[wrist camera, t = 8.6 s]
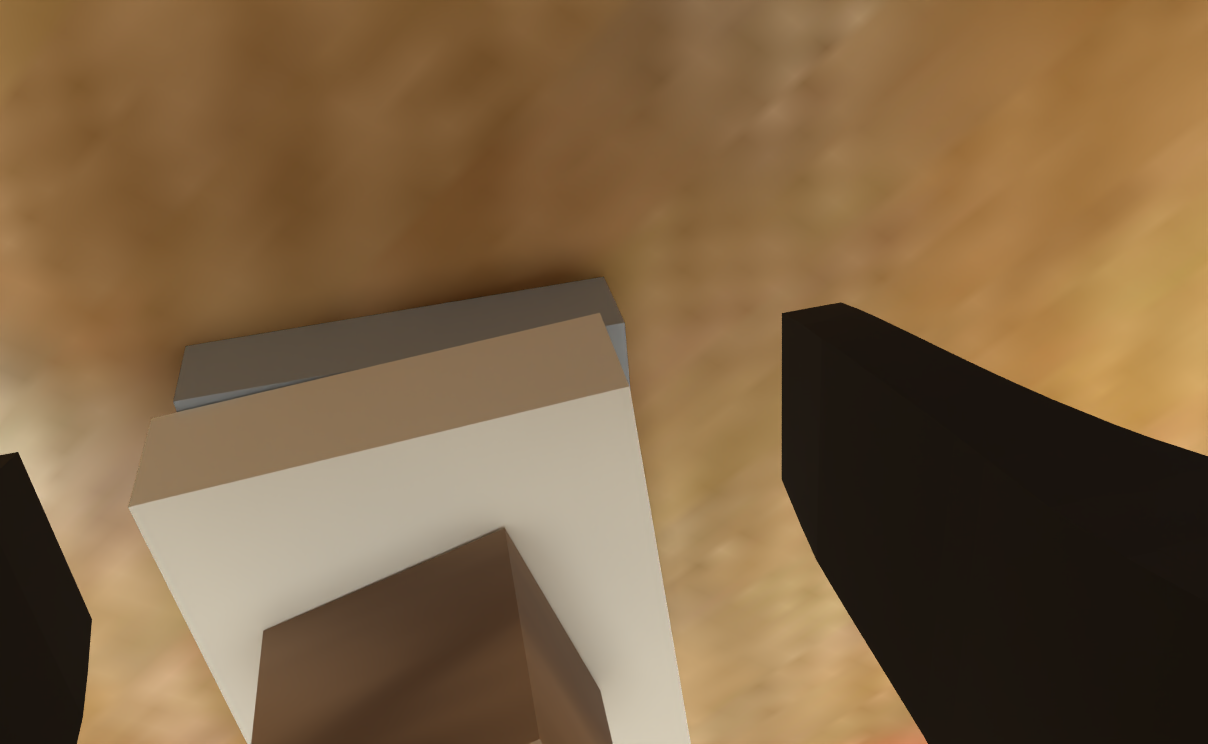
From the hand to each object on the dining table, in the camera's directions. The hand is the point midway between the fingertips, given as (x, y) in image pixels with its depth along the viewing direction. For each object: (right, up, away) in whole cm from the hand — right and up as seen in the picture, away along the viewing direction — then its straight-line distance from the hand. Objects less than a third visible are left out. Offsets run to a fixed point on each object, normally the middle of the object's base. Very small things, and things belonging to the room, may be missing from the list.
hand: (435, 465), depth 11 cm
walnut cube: (-1, -4, +9) cm, 10 cm away
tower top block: (-2, -3, +12) cm, 12 cm away
